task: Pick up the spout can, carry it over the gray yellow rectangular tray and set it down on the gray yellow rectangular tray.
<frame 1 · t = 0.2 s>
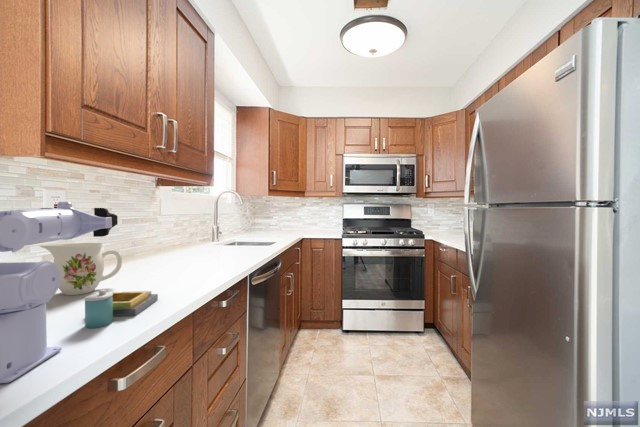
hand: (96, 219, 63), 21 cm above the table, tool horizontal, fingers open, 7 cm apart
gray yellow rectangular tray: (125, 307, 69), on the table
spout can: (99, 324, 60), on the table
pitcher: (84, 291, 82), on the table
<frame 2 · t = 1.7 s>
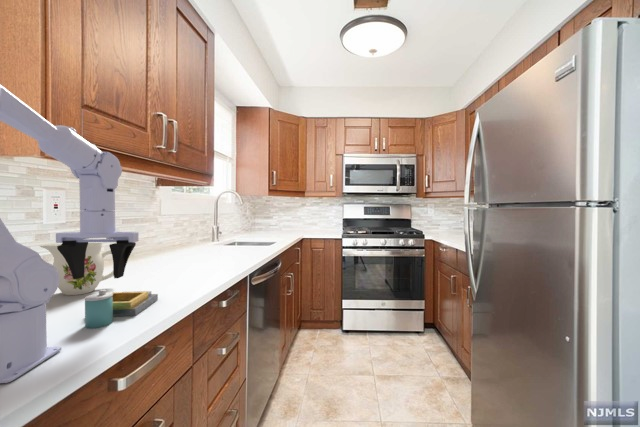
hand: (98, 277, 59), 10 cm above the table, tool pointing down, fingers open, 7 cm apart
nothing on the table moved.
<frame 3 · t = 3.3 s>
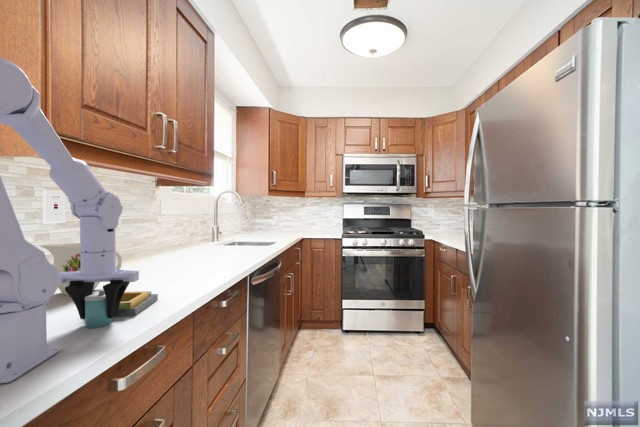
hand: (99, 316, 59), 1 cm above the table, tool pointing down, fingers closed on spout can, 4 cm apart
spout can: (99, 323, 60), on the table, touching gripper
everything else where it was.
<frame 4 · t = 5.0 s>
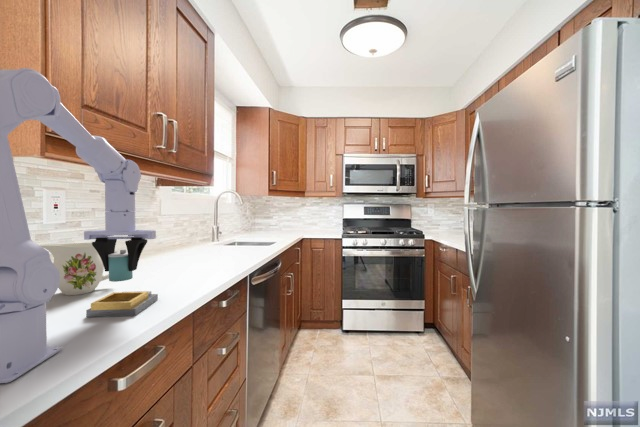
hand: (121, 270, 67), 9 cm above the table, tool pointing down, fingers closed on spout can, 4 cm apart
spout can: (120, 278, 67), point 7 cm above the table, touching gripper
everything else where it was.
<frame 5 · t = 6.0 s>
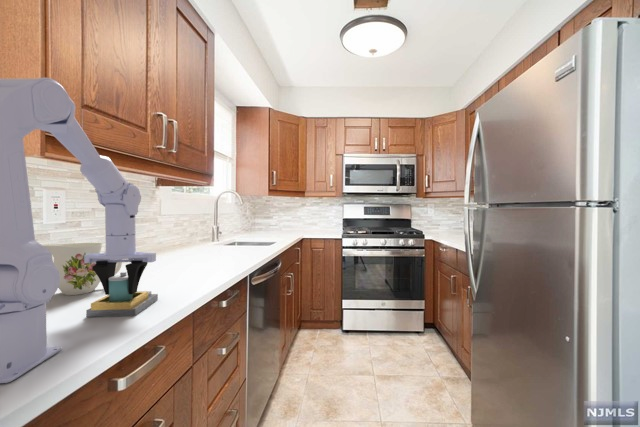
hand: (121, 293, 67), 4 cm above the table, tool pointing down, fingers closed on spout can, 4 cm apart
spout can: (121, 301, 67), point 2 cm above the table, touching gripper
everything else where it was.
when the fingers open (4 cm above the table, at t = 6.8 s): spout can stays where it is, resting on gray yellow rectangular tray.
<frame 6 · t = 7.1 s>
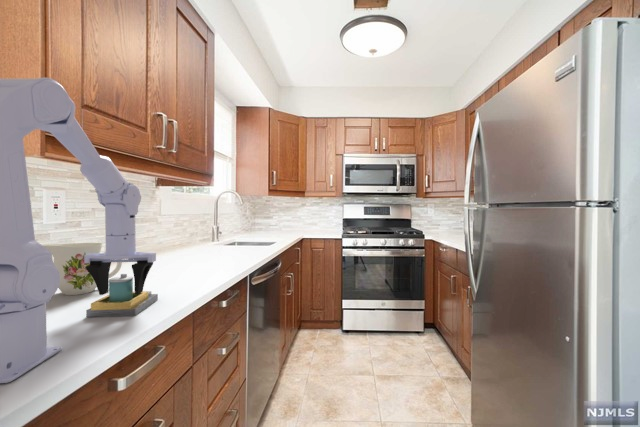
hand: (121, 293, 67), 4 cm above the table, tool pointing down, fingers open, 7 cm apart
spout can: (121, 303, 67), point 2 cm above the table, touching gray yellow rectangular tray
everything else where it was.
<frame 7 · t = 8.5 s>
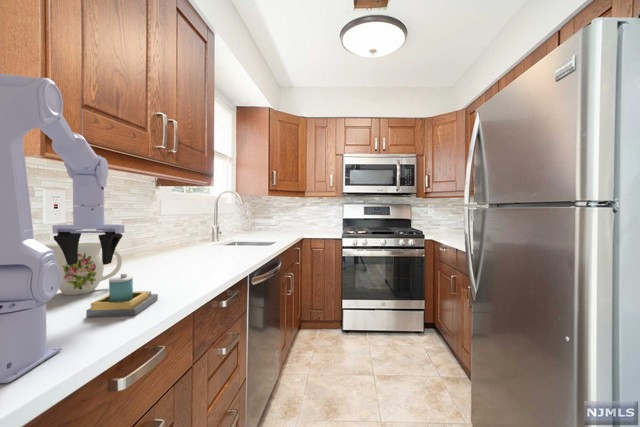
hand: (89, 264, 68), 10 cm above the table, tool pointing down, fingers open, 7 cm apart
nothing on the table moved.
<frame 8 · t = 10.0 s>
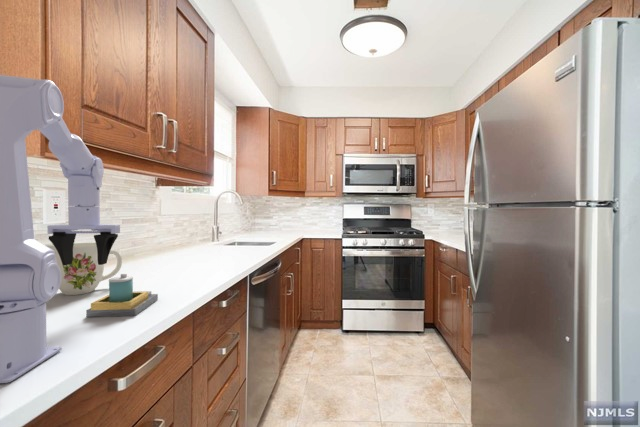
hand: (85, 264, 68), 10 cm above the table, tool pointing down, fingers open, 7 cm apart
nothing on the table moved.
at the end: spout can 0.1 cm from the target spot on the gray yellow rectangular tray, point 1.5 cm above the gray yellow rectangular tray's base; spout can tilted 0°; the gripper is holding nothing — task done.
